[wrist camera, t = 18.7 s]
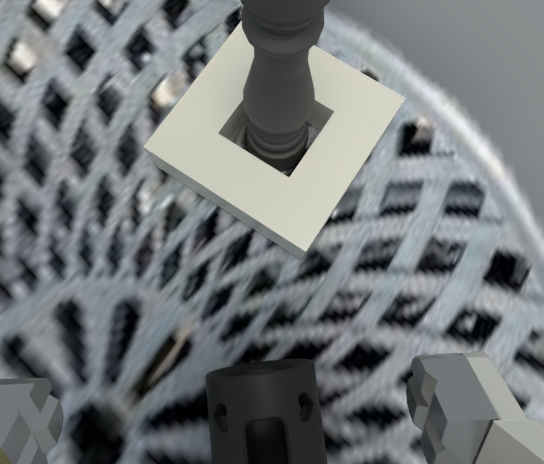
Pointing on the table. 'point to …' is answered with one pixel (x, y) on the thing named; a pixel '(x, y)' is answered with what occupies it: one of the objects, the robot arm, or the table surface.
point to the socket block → (254, 172)
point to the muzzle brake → (265, 414)
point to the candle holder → (280, 77)
